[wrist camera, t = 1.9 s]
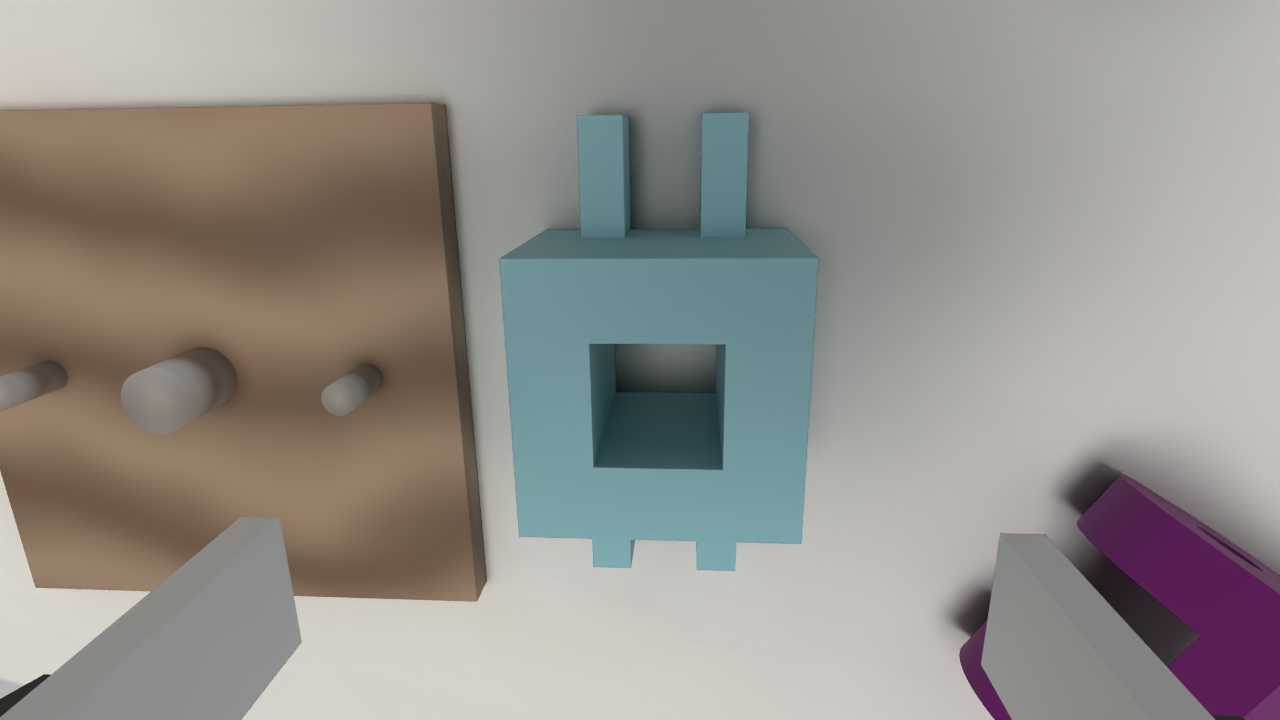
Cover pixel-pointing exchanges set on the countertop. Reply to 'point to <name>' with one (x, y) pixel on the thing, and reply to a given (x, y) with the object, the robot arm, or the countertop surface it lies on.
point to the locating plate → (237, 345)
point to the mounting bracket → (1183, 602)
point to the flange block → (660, 314)
